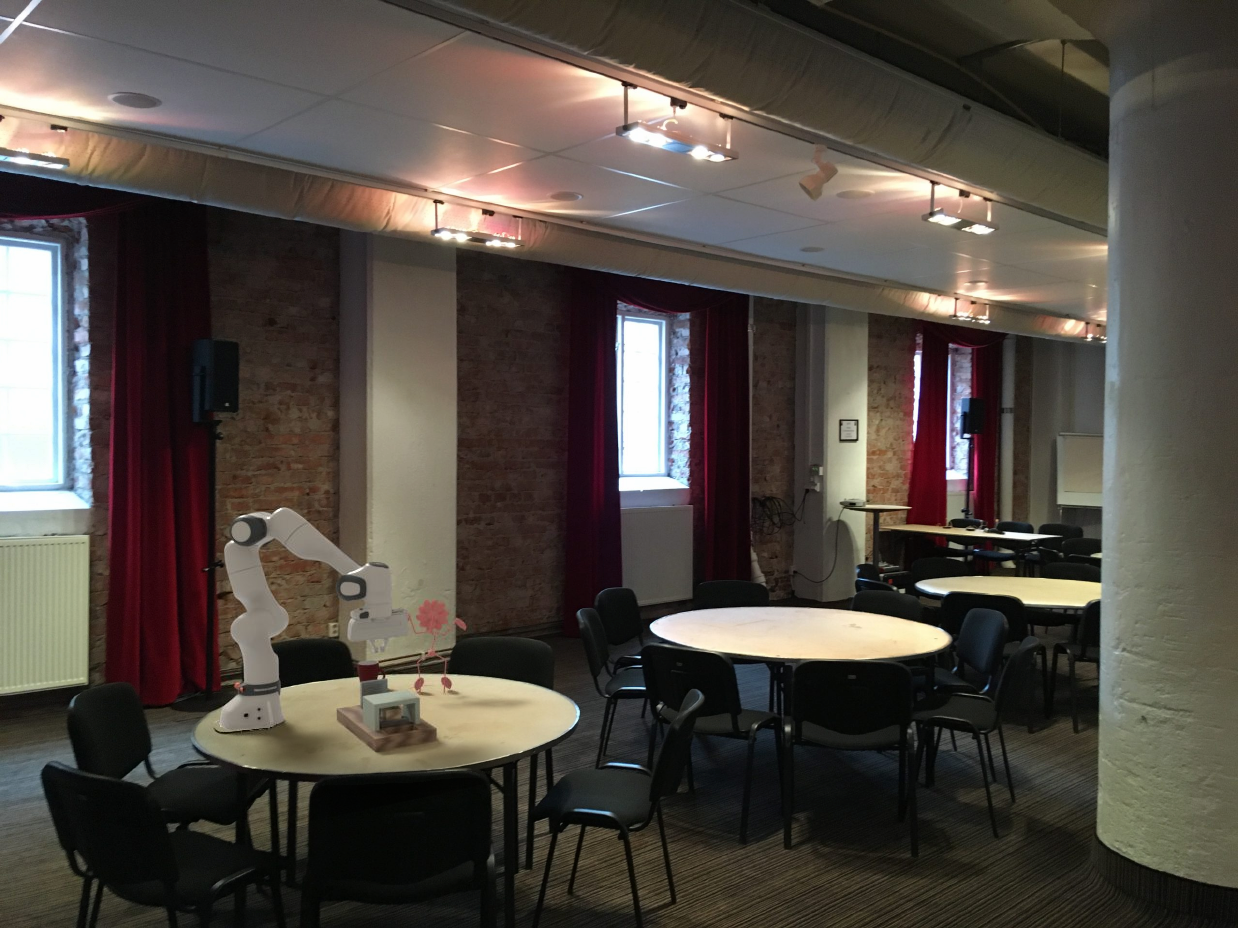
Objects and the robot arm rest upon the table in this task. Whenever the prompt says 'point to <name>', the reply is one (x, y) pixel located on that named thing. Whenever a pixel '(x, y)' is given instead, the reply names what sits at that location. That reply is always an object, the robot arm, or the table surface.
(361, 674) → the mug
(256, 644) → the robot arm
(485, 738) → the table surface
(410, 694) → the tunnel
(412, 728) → the walnut deck
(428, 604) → the pink flower toy
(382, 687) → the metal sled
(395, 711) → the maple block
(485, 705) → the table surface
